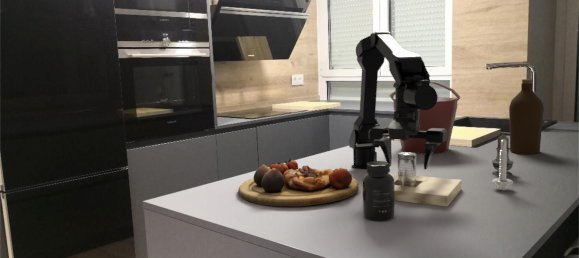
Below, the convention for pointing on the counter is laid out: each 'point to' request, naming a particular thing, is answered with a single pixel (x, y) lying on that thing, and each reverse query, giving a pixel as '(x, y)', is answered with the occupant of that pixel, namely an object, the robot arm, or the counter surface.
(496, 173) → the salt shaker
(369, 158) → the robot arm
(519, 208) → the counter surface
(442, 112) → the bucket
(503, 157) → the screw
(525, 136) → the olive oil
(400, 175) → the grey cylindrical piece
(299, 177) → the wooden plate with food
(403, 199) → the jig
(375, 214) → the supplement bottle
